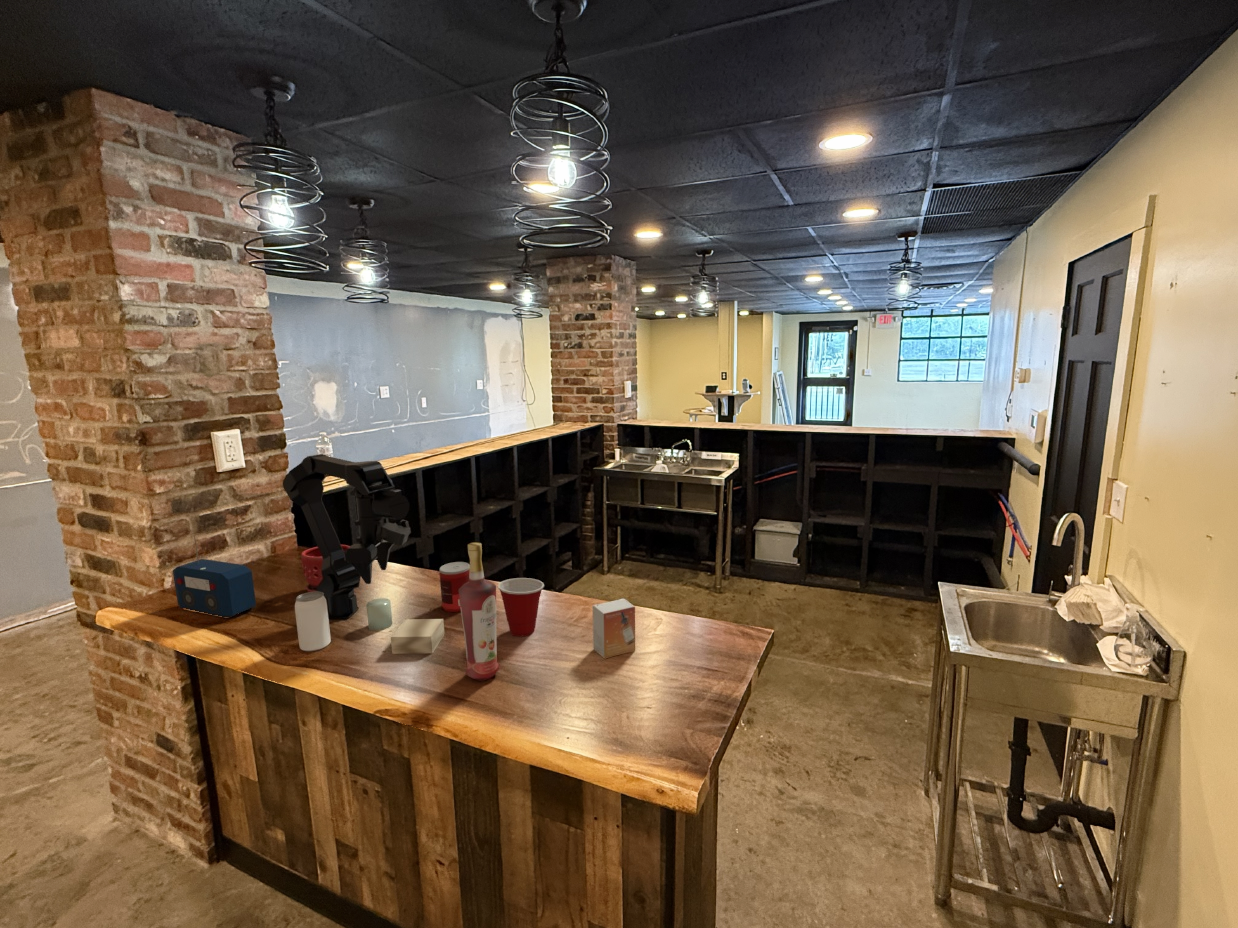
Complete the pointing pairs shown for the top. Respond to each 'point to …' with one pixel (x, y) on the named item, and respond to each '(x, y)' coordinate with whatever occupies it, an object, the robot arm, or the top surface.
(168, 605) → the top surface
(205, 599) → the radio
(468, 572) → the canned food
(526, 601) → the plastic cup
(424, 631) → the beech block
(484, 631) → the liquor
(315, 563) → the plant pot
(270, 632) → the top surface
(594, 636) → the small box
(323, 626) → the can
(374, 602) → the grey-green rounded piece
